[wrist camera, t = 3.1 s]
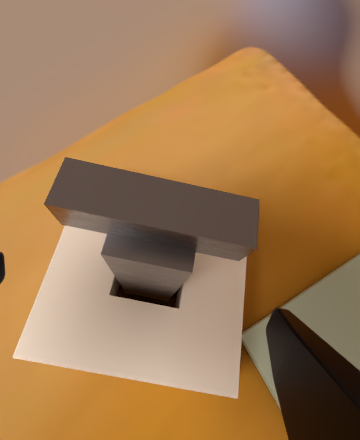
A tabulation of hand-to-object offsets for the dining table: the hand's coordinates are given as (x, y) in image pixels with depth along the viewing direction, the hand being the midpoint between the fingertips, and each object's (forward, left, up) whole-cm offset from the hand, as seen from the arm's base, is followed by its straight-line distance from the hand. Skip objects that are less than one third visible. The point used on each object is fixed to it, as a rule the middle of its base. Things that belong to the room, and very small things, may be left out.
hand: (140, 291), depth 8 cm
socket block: (+2, -2, -10) cm, 10 cm away
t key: (+2, -2, -10) cm, 10 cm away
